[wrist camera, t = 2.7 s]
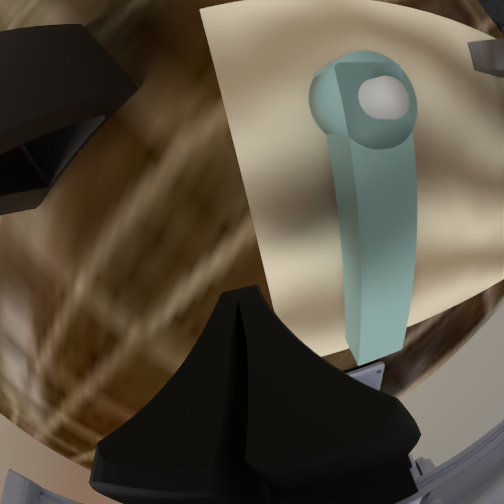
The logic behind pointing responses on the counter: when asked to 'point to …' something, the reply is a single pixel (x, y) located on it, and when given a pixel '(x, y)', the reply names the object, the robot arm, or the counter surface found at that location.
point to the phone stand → (50, 106)
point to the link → (372, 193)
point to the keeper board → (318, 157)
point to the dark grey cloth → (495, 11)
